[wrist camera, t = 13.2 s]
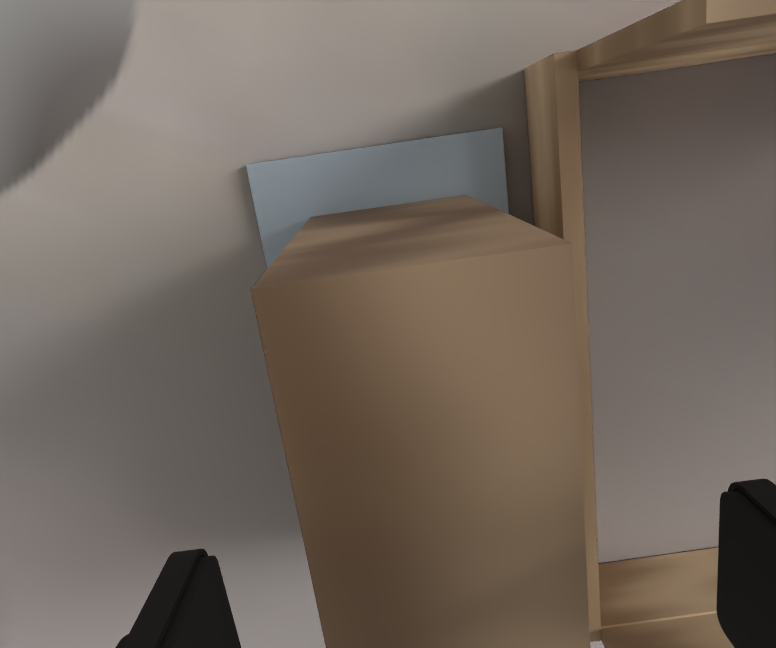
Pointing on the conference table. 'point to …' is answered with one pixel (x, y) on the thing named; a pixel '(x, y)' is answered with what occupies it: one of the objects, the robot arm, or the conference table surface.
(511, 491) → the box
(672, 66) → the wooden open frame
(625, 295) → the conference table surface
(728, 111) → the conference table surface
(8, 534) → the conference table surface
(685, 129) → the conference table surface
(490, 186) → the mat
